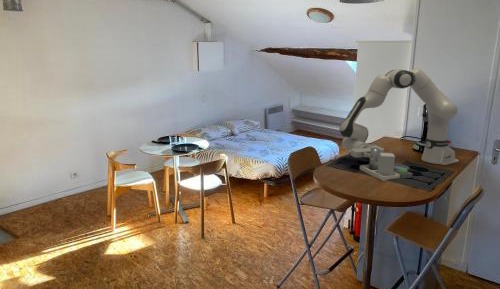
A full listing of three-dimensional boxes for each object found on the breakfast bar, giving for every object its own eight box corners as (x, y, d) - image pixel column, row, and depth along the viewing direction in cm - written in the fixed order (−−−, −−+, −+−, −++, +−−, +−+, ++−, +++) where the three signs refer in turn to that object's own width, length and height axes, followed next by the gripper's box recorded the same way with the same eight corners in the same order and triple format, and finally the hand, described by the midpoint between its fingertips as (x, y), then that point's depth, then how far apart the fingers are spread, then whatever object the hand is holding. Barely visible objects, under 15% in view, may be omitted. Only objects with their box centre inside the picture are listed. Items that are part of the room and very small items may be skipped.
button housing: (403, 174, 218) (403, 169, 217) (412, 178, 212) (412, 173, 211) (393, 175, 216) (393, 170, 215) (401, 180, 209) (402, 174, 209)
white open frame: (359, 169, 226) (359, 165, 225) (375, 167, 230) (375, 163, 229) (383, 181, 207) (383, 176, 206) (399, 179, 211) (400, 174, 210)
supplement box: (392, 179, 210) (395, 156, 206) (378, 178, 211) (380, 155, 208) (390, 174, 217) (393, 153, 213) (377, 173, 218) (379, 152, 215)
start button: (403, 174, 216) (403, 167, 215) (408, 176, 212) (409, 169, 211) (397, 175, 215) (398, 168, 214) (402, 177, 211) (403, 170, 210)
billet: (374, 166, 226) (376, 147, 223) (379, 168, 221) (381, 150, 218) (367, 166, 224) (368, 148, 221) (372, 169, 219) (374, 150, 217)
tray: (399, 166, 233) (399, 163, 232) (409, 170, 225) (409, 167, 225) (388, 167, 230) (388, 164, 230) (397, 171, 223) (398, 168, 222)
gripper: (346, 145, 228) (360, 151, 215) (375, 143, 235) (390, 149, 222) (345, 155, 230) (359, 162, 217) (374, 153, 236) (389, 159, 224)
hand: (375, 155), depth 220 cm, fingers closed on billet, 5 cm apart
